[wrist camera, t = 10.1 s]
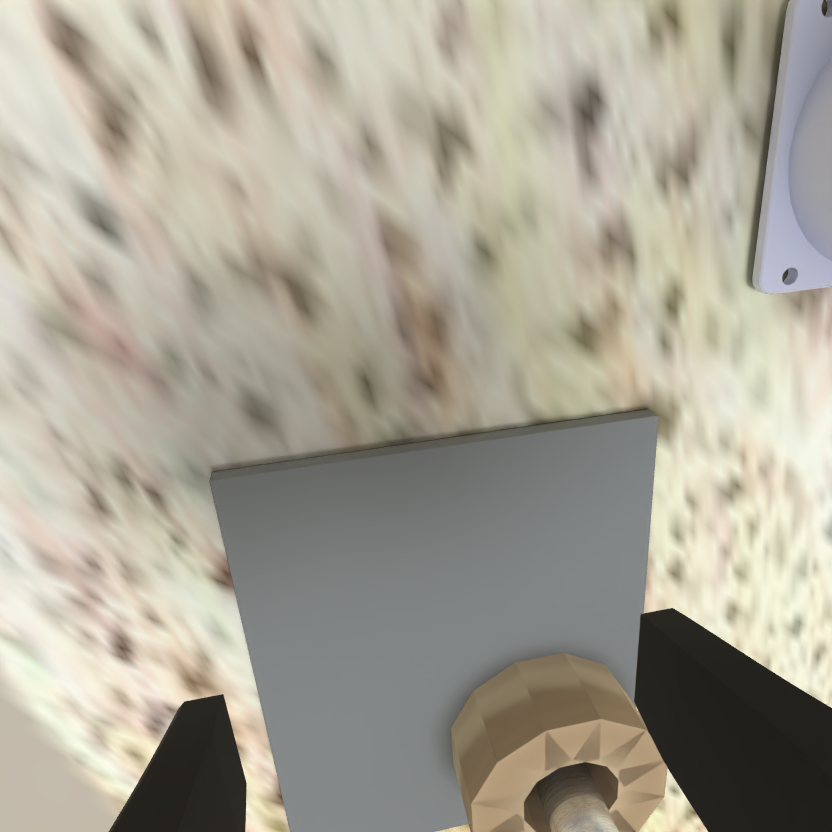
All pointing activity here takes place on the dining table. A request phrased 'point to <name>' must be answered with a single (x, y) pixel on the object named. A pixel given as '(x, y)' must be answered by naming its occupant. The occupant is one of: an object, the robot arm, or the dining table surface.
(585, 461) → the mat
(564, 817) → the steel peg
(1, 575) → the dining table surface
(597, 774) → the maple bead
